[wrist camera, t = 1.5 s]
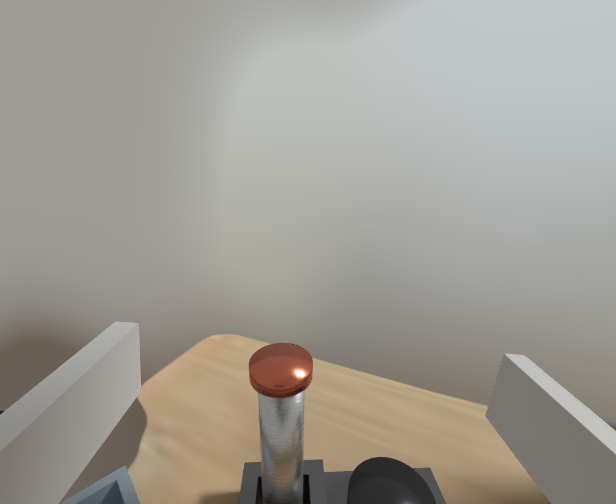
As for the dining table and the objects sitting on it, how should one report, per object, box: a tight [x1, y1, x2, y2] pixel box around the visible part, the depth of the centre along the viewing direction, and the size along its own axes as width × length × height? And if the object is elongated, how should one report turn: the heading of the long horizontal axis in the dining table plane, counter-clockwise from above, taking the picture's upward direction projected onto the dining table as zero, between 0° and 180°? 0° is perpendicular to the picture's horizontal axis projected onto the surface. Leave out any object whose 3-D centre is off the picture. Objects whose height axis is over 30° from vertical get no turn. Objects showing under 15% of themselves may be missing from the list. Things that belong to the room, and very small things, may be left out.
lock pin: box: [249, 343, 313, 504], centre depth 26 cm, size 5×5×19 cm
